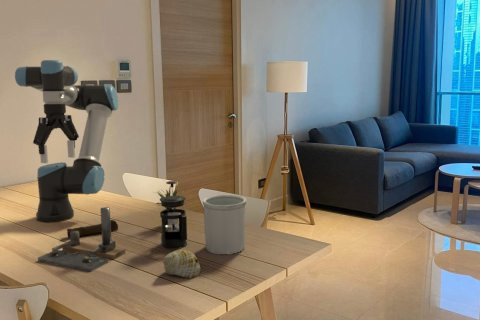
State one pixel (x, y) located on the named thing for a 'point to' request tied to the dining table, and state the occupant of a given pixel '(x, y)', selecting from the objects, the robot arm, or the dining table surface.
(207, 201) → the utensil holder
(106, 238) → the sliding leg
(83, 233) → the hand tool
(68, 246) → the grey lever handle base
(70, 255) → the bolt plate
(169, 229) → the french press
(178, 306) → the dining table surface
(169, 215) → the house plant
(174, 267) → the seashell
